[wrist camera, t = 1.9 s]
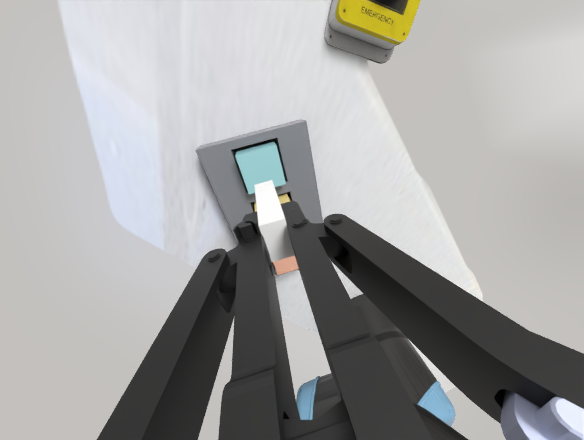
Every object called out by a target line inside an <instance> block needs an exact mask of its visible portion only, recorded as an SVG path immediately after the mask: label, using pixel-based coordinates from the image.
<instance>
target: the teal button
mask: <svg viewBox="0 0 584 440" xmlns="http://www.w3.org/2000/svg"><path fill="white" fill-rule="evenodd" d="M235 157H236V159H237V162H238V165H239V168H240V171H241V173H242V176H243V179H244V182H245V185H246V187H247V190H248V193H249V194H252V193H255V186H254V185H256V184H259V183H263V182H267V181H270V180H272V181H273V184H274V187H277V186H281V185H284V184H286V182H285V178H284V174H283V170H282V166H281V162H280V158H279V153H278V149H277V145H276V144H275V143H274V141H273V142H269V143H266V144H262V145H258V146H254V147H251V148H247V149H243V150H240V151H236V156H235Z"/></svg>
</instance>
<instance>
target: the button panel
mask: <svg viewBox="0 0 584 440" xmlns="http://www.w3.org/2000/svg"><path fill="white" fill-rule="evenodd" d="M273 138H276V142H277V147H278V151H279V155H280V159H281V163H282V167H283V171H284V175H285V176H284V178H285V182H286V184H284V185H281V186H277V187H275V190H276V193H277V195H279V194H283V193H286V192H289V195H290V199H291V201H295V202H297V203H298V204H299V207H300V208H301V210H302V212H303V214H304V216H305V218H306V219H308V220H309V221H310V223H323V219H322V213H321V207H320V201H319V195H318V189H317V183H316V177H315V171H314V165H313V159H312V152H311V146H310V140H309V134H308V128H307V122H306V121H305V120H297V121H293V122H289V123H286V124H282V125H278V126H274V127H270V128H267V129H263V130H259V131H255V132H251V133H248V134H244V135H240V136H236V137H232V138H229V139H225V140H221V141H217V142H213V143H210V144H206V145H202V146H200V147H199V148H197V149H196V153H197V155H198V157H199V159H200V161H201V164H202V166H203V168H204V170H205V173H206V175H207V177H208V179H209V181H210V184H211V186H212V188H213V190H214V193H215V195H216V197H217V199H218V202H219V204H220V206H221V208H222V210H223V213H224V215H225V217H226V219H227V222H228V224H229V226H230V228H231V230H232V233H233V235H234V237H235V239H236V242H237V244H238V240H237V238H236V235H235V233H234V231H233V229H234V227H235V226H236V225H237V224H239V223H240V222H243V218H244V216H245V215H246V214H249V213H253V212H255V208H254V206H253V203H252V202H255V201H256V195H255V193H252V194H249V193H248V190H247V187H246V185H245V182H244V179H243V176H242V173H241V171H240V168H239V165H238V162H237V159H236V157H235V156H236V155H235V152H234V149H236V148H240V147H243V146H247V145H251V144H255V143H258V142H262V141H266V140H270V139H273ZM271 264H272V266H273V270H274V274H277V272H276V269H275V266H274V263H273V262H272V261H271Z"/></svg>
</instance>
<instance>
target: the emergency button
mask: <svg viewBox="0 0 584 440" xmlns="http://www.w3.org/2000/svg"><path fill="white" fill-rule="evenodd" d="M420 1H421V0H332V1H331V6H330V10H329V15H328V19H327V24H326V29H325V39H326V42H327V43H328V44H329V45H331V46H334V47H337V48H340V49H343V50H345V51H348V52H351V53H354V54H357V55H360V56H363V57H366V58H368V60H370V61H373V62H376V63H379V64H383V63H385V62H387V61H388V60H389V59H390V57H391V55H392V52H393V49H394V47H395V46H396V45H399V44H400V43H402V42H403V41H404V40H406V38H407V36H408V34H409V32H410V29H411V25H412V23H413V20H414V17H415V15H416V12H417V9H418V6H419V3H420Z"/></svg>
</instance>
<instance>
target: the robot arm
mask: <svg viewBox="0 0 584 440" xmlns="http://www.w3.org/2000/svg"><path fill="white" fill-rule="evenodd" d="M254 186H255V195H256V205H257V211H256V212H253V213H249V214H246V215H245V216H244V218H243V222H240V223H239V224H237V225H236V226H235V227H234V229H233V231H234V233H235V235H236V238H237V240H238V246H237V247H236V248H234V249H232V250H230V251H228V252H226V251H225V250H224V249H215V250H212V251H210V252H209V253H207V254H206V255H205V256H204V257H203V258H202V260H201V262H200V264H199V265H198V267H197V269H196V270H195V272H194V274H193V276H192V277H191V279H190V281H189V282H188V284H187V286H186V288H185V289H184V291H183V293H182V295H181V296H180V298H179V300H178V301H177V303H176V305H175V306H174V308H173V310H172V312H171V313H170V315H169V317H168V319H167V320H166V322H165V324H164V325H163V327H162V329H161V331H160V332H159V334H158V336H157V338H156V339H155V341H154V342H153V344H152V346H151V348H150V349H149V351H148V353H147V355H146V356H145V358H144V360H143V361H142V363H141V365H140V367H139V368H138V370H137V372H136V373H135V375H134V377H133V379H132V380H131V382H130V384H129V385H128V387H127V389H126V391H125V392H124V394H123V396H122V397H121V399H120V401H119V403H118V404H117V406H116V408H115V410H114V411H113V413H112V415H111V416H110V418H109V420H108V421H107V423H106V425H105V427H104V428H103V430H102V432H101V433H100V435H99V437H98V439H97V440H198V436H199V433H200V430H201V426H202V423H203V419H204V416H205V413H206V409H207V406H208V402H209V399H210V396H211V392H212V389H213V386H214V382H215V379H216V375H217V372H218V369H219V366H220V362H221V359H222V355H223V352H224V349H225V345H226V342H227V339H228V335H229V332H230V328H231V325H232V322H233V318H234V315H235V318H234V339H233V358H232V375H231V380H230V382H228V383H227V384H226V385H225V387H224V390H223V395H222V402H221V415H220V426H219V439H218V440H468V439H467V438H465V437H464V436H463V435H461V434H460V433H458V432H457V431H456V430H454V429H453V428H452V427H450V426H451V425H452V423H453V422H454V420H455V410H454V407H453V405H452V403H451V402H450V400H449V399H448V397H447V396H446V394H445V392H444V391H443V389H442V388H441V384H440V382H439V381H437V380H436V378H435V377H434V375H433V374H432V373H431V371H430V370H429V368H428V367H427V365H426V364H425V363H424V361H423V360H422V358H421V357H420V355H419V354H418V353H417V351H416V350H415V348H414V347H413V345H412V344H411V343H410V341H411V342H412V343H413V344H414V345H415V346H416V347H417V348H418V349H419V350H420V351H421V352H422V353H423V354H424V355H425V356H426V357H427V358H428V359H429V360H430V361H431V362H432V363H433V364H434V365H435V366H436V367H437V368H438V369H439V370H440V371H441V372H442V373H443V374H444V375H445V376H446V377H447V378H448V379H449V380H450V381H451V382H452V383H453V384H454V385H455V386H456V387H457V388H458V389H459V390H460V391H462V392H463V393H464V394H465V395H466V396H467V397H468V398H469V399H470V400H471V401H472V402H474V403H475V404H476V405H477V406H479V407H480V408H481V409H482V410H483V411H485V412H486V413H487V414H489V415H490V416H491V417H492V418H494V419H495V420H496V421H498V422H499V423H500V424H501V427H502V430H503V434H504V436H505V438H506V440H584V354H583V353H580V352H578V351H575V350H573V349H571V348H569V347H566V346H564V345H561V344H559V343H557V342H554V341H552V340H549V339H547V338H545V337H542V336H540V335H538V334H535V333H533V332H530V331H528V330H527V329H525V328H524V327H522V326H520V325H519V324H517V323H516V322H514V321H513V320H511V319H509V318H508V317H506V316H504V315H503V314H501V313H500V312H498V311H497V310H495V309H493V308H492V307H490V306H488V305H487V304H485V303H484V302H482V301H481V300H479V299H477V298H476V297H474V296H473V295H471V294H469V293H468V292H466V291H465V290H463V289H462V288H460V287H458V286H457V285H455V284H454V283H452V282H450V281H449V280H447V279H446V278H444V277H442V276H441V275H439V274H438V273H436V272H434V271H433V270H431V269H430V268H428V267H426V266H425V265H423V264H422V263H420V262H418V261H417V260H415V259H414V258H412V257H411V256H409V255H407V254H406V253H404V252H403V251H401V250H399V249H398V248H396V247H395V246H393V245H391V244H390V243H388V242H387V241H385V240H383V239H382V238H380V237H379V236H377V235H375V234H374V233H372V232H371V231H369V230H367V229H366V228H364V227H363V226H361V225H360V224H358V223H356V222H355V221H353V220H352V219H350V218H348V217H347V216H345V215H343V214H332V215H329V216H327V217H326V218H325V219H324V223H310V221H309V220H308V219H306V218H305V216H304V214H303V212H302V210H301V208H300V207H299V204H298V203H297V202H295V201H289V202H286V203H282V204H280V202H279V199H278V196H277V193H276V190H275V187H274V184H273V181H272V180H270V181H267V182H263V183H259V184H256V185H254ZM291 256H295V258H296V261H297V265H298V269H299V271H300V274H301V277H302V280H303V284H304V287H305V290H306V293H307V296H308V299H309V303H310V306H311V309H312V312H313V315H314V319H315V322H316V325H317V328H318V331H319V335H320V338H321V341H322V344H323V347H324V350H325V354H326V357H327V360H328V363H329V366H330V370H331V374H328V375H325V376H322V377H320V376H318V377H316V379H314V380H311V381H309V382H307V383H304V384H303V385H302V386H301V387H300V388H299V390H298V394H297V401H296V400H295V395H294V389H293V383H292V377H291V371H290V365H289V359H288V354H287V348H286V342H285V336H284V330H283V324H282V318H281V312H280V306H279V300H278V294H277V288H276V282H275V276H274V270H273V266H272V264H271V261H272V262H275V261H278V260H281V259H285V258H288V257H291ZM329 258H330V259H329ZM330 260H331V261H332V262H333V263H334V264H335V265H336V266H337V267H338V268H339V269H340V270H341V271H342V272H343V273H344V274H345V275H346V276H347V277H348V278H349V279H350V280H351V281H352V282H353V283H354V284H355V285H356V286H357V287H358V288H359V289H360V291H361V292H362V293H363V295H360V296H357V297H355V298H353V299H350V297H349V295H348V293H347V291H346V289H345V288H344V286H343V284H342V282H341V280H340V278H339V276H338V274H337V272H336V270H335V269H334V267H333V265H332V263H331V261H330ZM408 339H409V340H410V341H409V340H408Z"/></svg>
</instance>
